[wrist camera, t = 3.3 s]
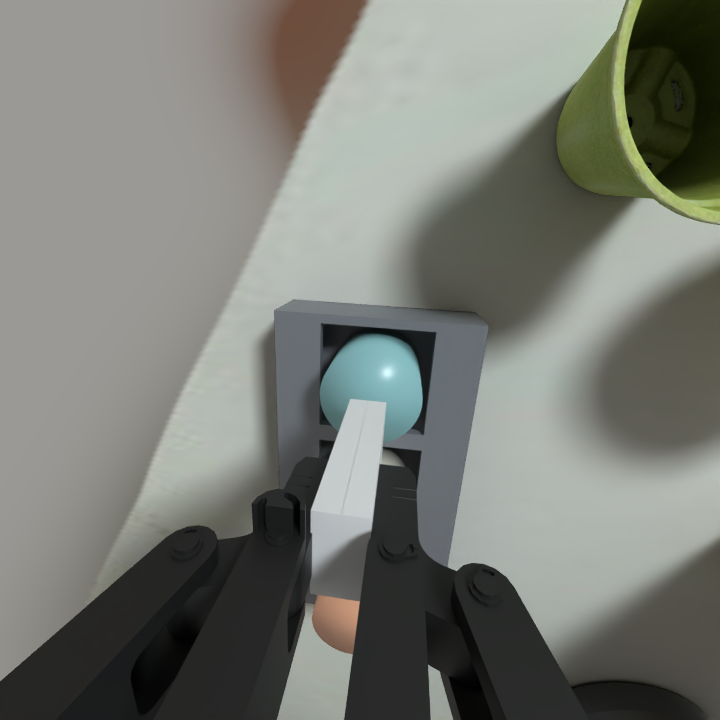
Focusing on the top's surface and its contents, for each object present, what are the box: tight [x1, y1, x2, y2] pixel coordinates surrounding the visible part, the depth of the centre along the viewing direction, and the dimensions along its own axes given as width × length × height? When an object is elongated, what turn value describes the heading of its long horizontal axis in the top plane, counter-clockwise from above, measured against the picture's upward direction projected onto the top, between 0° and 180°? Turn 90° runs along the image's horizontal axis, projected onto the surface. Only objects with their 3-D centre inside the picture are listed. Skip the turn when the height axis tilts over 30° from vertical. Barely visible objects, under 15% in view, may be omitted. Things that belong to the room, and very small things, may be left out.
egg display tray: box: [274, 300, 489, 604], centre depth 23 cm, size 21×11×4 cm, turn 177°
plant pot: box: [556, 0, 720, 225], centre depth 13 cm, size 9×9×9 cm
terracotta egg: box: [312, 595, 360, 654], centre depth 23 cm, size 5×5×4 cm
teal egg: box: [320, 327, 423, 443], centre depth 19 cm, size 5×5×4 cm
